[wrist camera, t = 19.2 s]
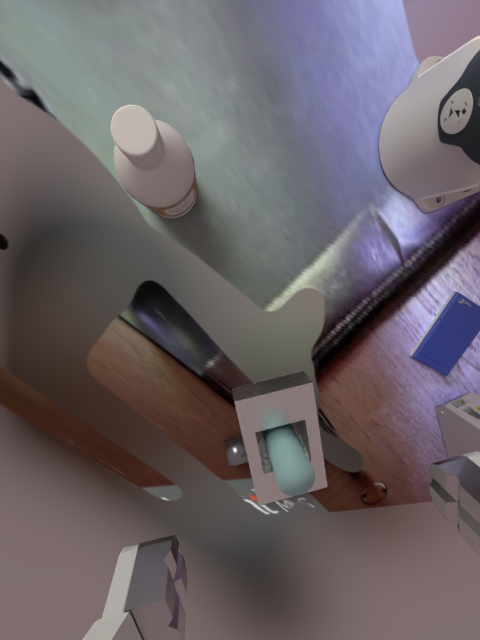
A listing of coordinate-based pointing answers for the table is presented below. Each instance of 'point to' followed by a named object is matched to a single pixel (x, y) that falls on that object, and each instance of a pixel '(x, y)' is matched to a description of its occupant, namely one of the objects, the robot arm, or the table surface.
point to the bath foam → (153, 162)
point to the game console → (460, 424)
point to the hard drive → (449, 334)
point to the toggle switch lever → (288, 460)
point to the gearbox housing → (268, 412)
